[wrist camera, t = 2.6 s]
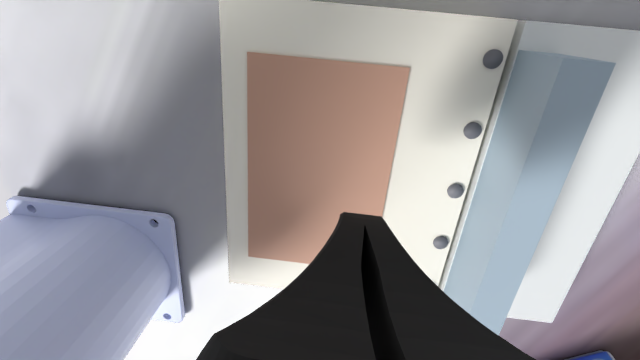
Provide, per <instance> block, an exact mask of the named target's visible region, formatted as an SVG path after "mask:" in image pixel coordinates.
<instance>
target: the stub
mask: <svg viewBox="0 0 640 360" xmlns="http://www.w3.org/2000/svg"><path fill="white" fill-rule="evenodd" d="M639 153H640V31H639V30H628V29H617V28H606V27H595V26H584V25H573V24H562V23H551V22H540V21H529V20H518V21H517V25H516V28H515V31H514V35H513V38H512V41H511V45H510V48H509V51H508V55H507V58H506V61H505V65H504V68H503V71H502V75H501V78H500V81H499V85H498V88H497V91H496V95H495V98H494V101H493V105H492V108H491V111H490V115H489V118H488V121H487V125H486V128H485V131H484V135H483V138H482V141H481V145H480V148H479V151H478V155H477V158H476V161H475V165H474V168H473V171H472V175H471V178H470V181H469V185H468V188H467V191H466V195H465V198H464V201H463V205H462V208H461V211H460V215H459V218H458V221H457V225H456V228H455V231H454V235H453V238H452V241H451V245H450V248H449V251H448V255H447V258H446V261H445V265H444V268H443V271H442V275H441V278H440V281H439V285H438V287H439V288H440V289H441V290H442V291H443V292H444V293H445V294H446V295H448V296H449V297H450V298H451V299H452V300H453V301H454V302H455V303H457V304H458V305H459V306H460V307H461V308H463V309H464V310H465V311H466V312H468V313H469V314H470V315H471V316H473V317H474V318H475V319H476V320H478V321H479V322H480V323H482V324H483V325H484V326H486V327H487V328H489V329H490V330H491V331H493V332H494V333H495V334H497V335H499V333H500V331H501V329H502V326H503V324H504V322H505V319H506V317H508V318H516V319H524V320H532V321H540V322H548V323H552V322H553V320H554V318H555V316H556V314H557V312H558V310H559V308H560V306H561V304H562V302H563V300H564V299H565V297H566V295H567V293H568V291H569V289H570V287H571V285H572V283H573V281H574V279H575V277H576V275H577V273H578V271H579V269H580V267H581V265H582V264H583V262H584V260H585V258H586V256H587V254H588V252H589V250H590V248H591V246H592V244H593V242H594V240H595V238H596V236H597V234H598V232H599V230H600V229H601V227H602V225H603V223H604V221H605V219H606V217H607V215H608V213H609V211H610V209H611V207H612V205H613V203H614V201H615V199H616V197H617V195H618V193H619V192H620V190H621V188H622V186H623V184H624V182H625V180H626V178H627V176H628V174H629V172H630V170H631V168H632V166H633V164H634V162H635V160H636V158H637V157H638V155H639Z"/></svg>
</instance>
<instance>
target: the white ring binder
mask: <svg viewBox="0 0 640 360" xmlns="http://www.w3.org/2000/svg"><path fill="white" fill-rule="evenodd" d="M517 21H518V19H508V18H497V17H486V16H475V15H464V14H453V13H442V12H431V11H420V10H409V9H398V8H388V7H377V6H366V5H355V4H344V3H333V2H322V1H311V0H219V23H220V50H221V77H222V104H223V131H224V158H225V185H226V212H227V239H228V267H229V283H237V284H245V285H253V286H261V287H269V288H277V289H285V288H286V287H287V286H288V285H289V284H290V283H291V282H292V281H293V280H295V279H296V278H297V277H298V276H299V275H300V274H301V273H302V272H303V271H304V270H305V269H306V267H307V266H308V265H309V264H310V263H311V262H312V261H313V260H314V258H315V257H316V256H317V254H318V253H319V252H320V251H321V249H322V248H323V247H324V245H325V244H326V242H327V241H328V239H329V237H330V236H331V234H332V233H333V231H334V229H335V227H336V225H337V223H338V220H339V217H340V214H341V213H343V212H349V213H357V214H366V215H374V216H382V218H383V219H384V220H385V222H386V223H387V225H388V226H389V228H390V229H391V231H392V232H393V234H394V235H395V237H396V238H397V239H398V241H399V242H400V244H401V245H402V246H403V248H404V249H405V250H406V251H407V253H408V254H409V255H410V257H411V258H412V259H413V260H414V262H415V263H416V264H417V265H418V266H419V267H420V268H421V269H422V271H423V272H424V273H425V274H426V275H427V276H428V277H429V278H430V279H431V280H432V281H433V282H434V283H435V284H436V285H437V286H438V285H439V281H440V278H441V275H442V271H443V268H444V265H445V261H446V258H447V255H448V251H449V248H450V245H451V241H452V238H453V235H454V231H455V228H456V225H457V221H458V218H459V215H460V211H461V208H462V205H463V201H464V198H465V195H466V191H467V188H468V185H469V181H470V178H471V175H472V171H473V168H474V165H475V161H476V158H477V155H478V151H479V148H480V145H481V141H482V138H483V135H484V131H485V128H486V125H487V121H488V118H489V115H490V111H491V108H492V105H493V101H494V98H495V95H496V91H497V88H498V85H499V81H500V78H501V75H502V71H503V68H504V65H505V61H506V58H507V55H508V51H509V48H510V45H511V41H512V38H513V35H514V31H515V28H516V25H517Z"/></svg>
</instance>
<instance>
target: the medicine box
mask: <svg viewBox="0 0 640 360" xmlns="http://www.w3.org/2000/svg"><path fill="white" fill-rule="evenodd" d="M565 360H615V358H614V357H613V356H612V355H611V353H609V352H607V351H605V352H603V351H602V350H599V351H596V352H592V353H588V354H584V355H580V356H576V357H572V358H569V359H565Z"/></svg>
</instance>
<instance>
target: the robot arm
mask: <svg viewBox="0 0 640 360" xmlns="http://www.w3.org/2000/svg"><path fill="white" fill-rule="evenodd" d="M6 204H7V208H8V211H9V214H10V215H8V216H7V217H5V218H3V219H1V220H0V360H124V358H125V357H126V355H127V354H128V352H129V351H130V349H131V348H132V347H133V345H134V344H135V342H136V341H137V339H138V338H139V336H140V335H141V333H142V332H143V330H144V329H145V327H146V326H147V324H148V323H149V321H150V320H151V319H152V320H159V321H167V322H174V323H179V322H181V321H182V320H183V318H184V317H185V310H184V301H183V292H182V284H181V275H180V266H179V257H178V248H177V240H176V231H175V222H174V219H173V218H172V217H171V216H170V215H168V214H165V213H157V212H149V211H141V210H132V209H124V208H115V207H107V206H98V205H90V204H81V203H73V202H65V201H56V200H48V199H39V198H31V197H22V196H13V197H12V198H10V199H8V200H7V202H6ZM153 219H154V220H156V221H157V222H158V223H155V222H154V221H153ZM196 360H536V359H534V358H532V357H530V356H529V355H527V354H525V353H524V352H522V351H521V350H519V349H518V348H516V347H515V346H513V345H512V344H510V343H509V342H507V341H506V340H504V339H503V338H501V337H500V336H498V335H497V334H495V333H494V332H493V331H491V330H490V329H489V328H487V327H486V326H484V325H483V324H482V323H480V322H479V321H478V320H476V319H475V318H474V317H473V316H471V315H470V314H469V313H468V312H466V311H465V310H464V309H463V308H461V307H460V306H459V305H458V304H457V303H455V302H454V301H453V300H452V299H451V298H450V297H449V296H448V295H446V294H445V293H444V292H443V291H442V290H441V289H440V288H439V287H438V286H437V285H436V284H435V283H434V282H433V281H432V280H431V279H430V278H429V277H428V276H427V275H426V274H425V273H424V272H423V271H422V269H421V268H420V267H419V266H418V265H417V264H416V263H415V262H414V260H413V259H412V258H411V257H410V255H409V254H408V253H407V251H406V250H405V249H404V248H403V246H402V245H401V244H400V242H399V241H398V239H397V238H396V237H395V235H394V234H393V232H392V231H391V229H390V228H389V226H388V225H387V223H386V222H385V220H384V219H383V218H382V216H374V215H366V214H357V213H349V212H343V213H341V214H340V217H339V220H338V223H337V225H336V227H335V229H334V231H333V233H332V234H331V236H330V237H329V239H328V241H327V242H326V244H325V245H324V247H323V248H322V249H321V251H320V252H319V253H318V254H317V256H316V257H315V258H314V260H313V261H312V262H311V263H310V264H309V265H308V266H307V267H306V269H305V270H304V271H303V272H302V273H301V274H300V275H299V276H298V277H297V278H296V279H295V280H293V281H292V282H291V283H290V284H289V285H288V286H287V287H286V288H285V289H283V290H282V291H281V292H280V293H279V294H277V295H276V296H275V297H273V298H272V299H271V300H269V301H268V302H266V303H265V304H263V305H262V306H261V307H259V308H258V309H256V310H255V311H254V312H252V313H251V314H249V315H247V316H246V317H244V318H242V319H241V320H239V321H237V322H235V323H233V324H232V325H230V326H228V327H226V328H225V329H223V330H221V331H219V332H217V333H215V334H214V335H213V336H212V337H211V339H210V340H209V341H208V343H207V344H206V346H205V347H204V349H203V350H202V351H201V353H200V355H199V356H198V358H197V359H196Z"/></svg>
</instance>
